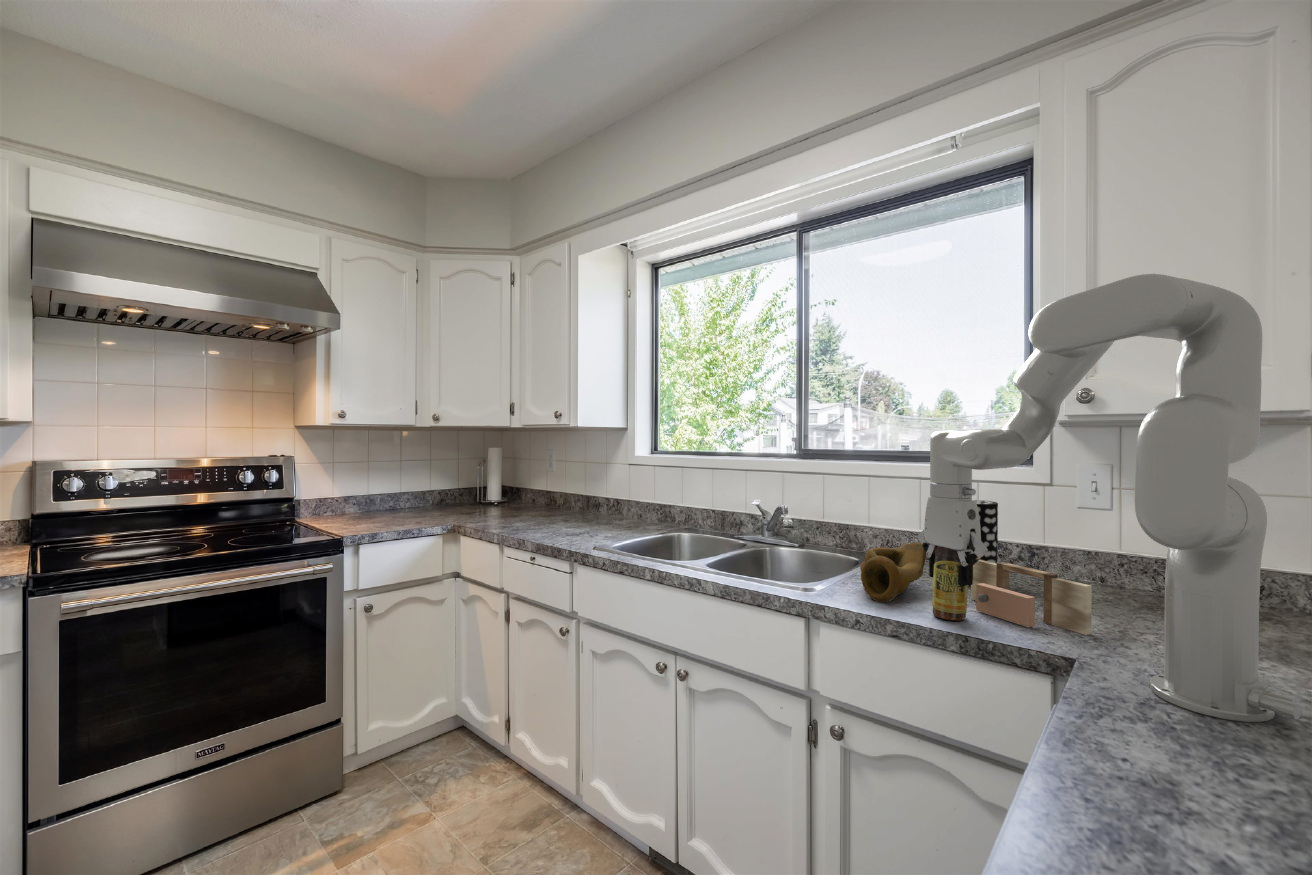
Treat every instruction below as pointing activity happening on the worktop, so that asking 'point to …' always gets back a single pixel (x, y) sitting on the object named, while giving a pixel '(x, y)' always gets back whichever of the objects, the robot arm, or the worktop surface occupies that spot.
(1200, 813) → the worktop surface
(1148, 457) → the robot arm
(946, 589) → the sauce bottle
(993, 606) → the door
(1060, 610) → the door frame
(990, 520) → the spotted tube
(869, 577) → the brown looped sculpture
